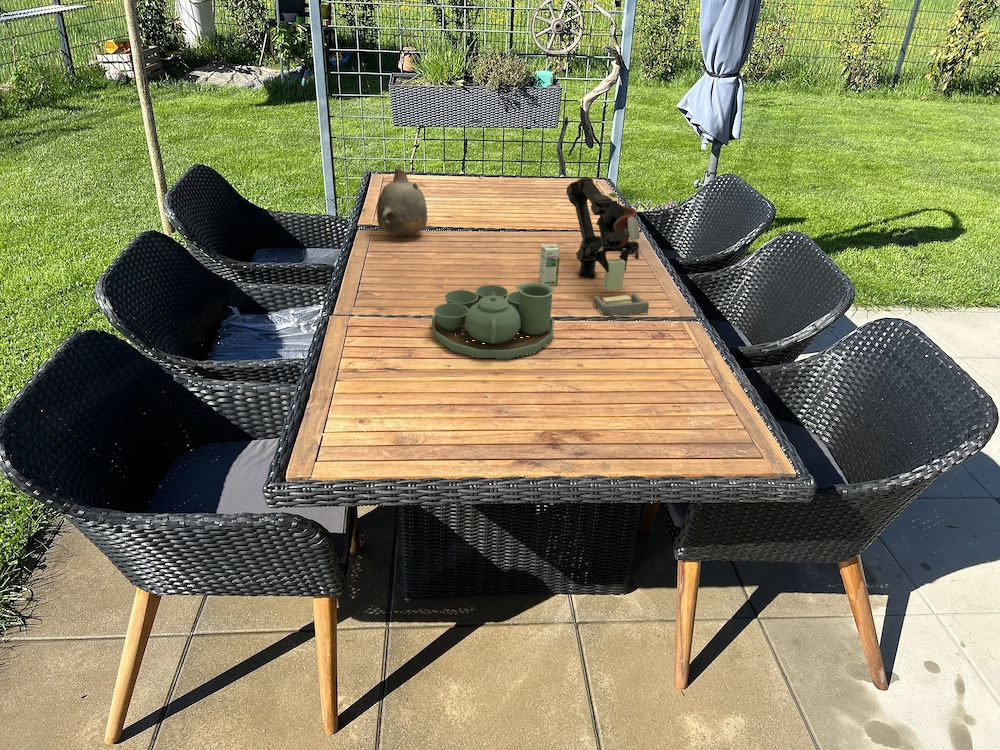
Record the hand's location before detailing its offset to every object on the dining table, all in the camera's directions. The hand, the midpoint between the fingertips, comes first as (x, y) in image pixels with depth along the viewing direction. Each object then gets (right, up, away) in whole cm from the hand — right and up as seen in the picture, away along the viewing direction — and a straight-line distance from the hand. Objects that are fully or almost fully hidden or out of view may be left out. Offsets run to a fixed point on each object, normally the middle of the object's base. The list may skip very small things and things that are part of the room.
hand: (616, 271), depth 246 cm
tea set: (-44, -23, -18) cm, 53 cm away
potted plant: (+9, +18, +54) cm, 58 cm away
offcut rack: (+1, -13, 0) cm, 13 cm away
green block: (-1, -5, +4) cm, 7 cm away
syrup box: (-23, -2, +19) cm, 30 cm away
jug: (-84, +24, +58) cm, 105 cm away
